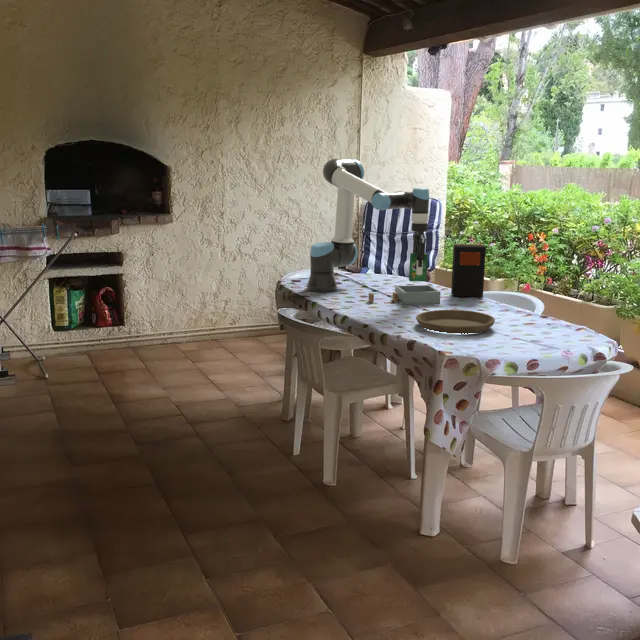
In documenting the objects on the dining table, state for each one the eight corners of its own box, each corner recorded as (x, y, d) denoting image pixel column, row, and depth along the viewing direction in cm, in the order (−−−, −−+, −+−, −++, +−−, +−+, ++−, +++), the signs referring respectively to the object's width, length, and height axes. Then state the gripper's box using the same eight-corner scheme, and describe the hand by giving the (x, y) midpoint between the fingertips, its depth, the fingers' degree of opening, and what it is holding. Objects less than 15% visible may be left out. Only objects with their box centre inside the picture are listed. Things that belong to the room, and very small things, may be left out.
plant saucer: (399, 325, 296) (400, 314, 295) (453, 316, 314) (454, 305, 313) (455, 341, 271) (456, 329, 270) (510, 330, 289) (511, 319, 288)
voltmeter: (482, 294, 359) (485, 243, 354) (484, 298, 351) (487, 246, 345) (450, 293, 361) (452, 243, 355) (451, 297, 353) (454, 245, 347)
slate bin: (394, 298, 349) (395, 285, 348) (429, 297, 352) (429, 285, 350) (403, 305, 333) (404, 292, 332) (439, 304, 335) (440, 291, 334)
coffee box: (425, 280, 342) (426, 252, 339) (427, 281, 339) (428, 253, 336) (408, 280, 341) (409, 252, 338) (410, 281, 338) (411, 253, 335)
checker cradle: (368, 301, 342) (368, 292, 341) (395, 300, 344) (395, 292, 343) (370, 302, 338) (370, 294, 337) (397, 302, 340) (397, 293, 339)
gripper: (432, 224, 327) (430, 275, 332) (422, 220, 342) (421, 270, 348) (416, 224, 326) (414, 276, 331) (407, 220, 341) (405, 270, 347)
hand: (418, 273), depth 339 cm, fingers closed on coffee box, 3 cm apart
